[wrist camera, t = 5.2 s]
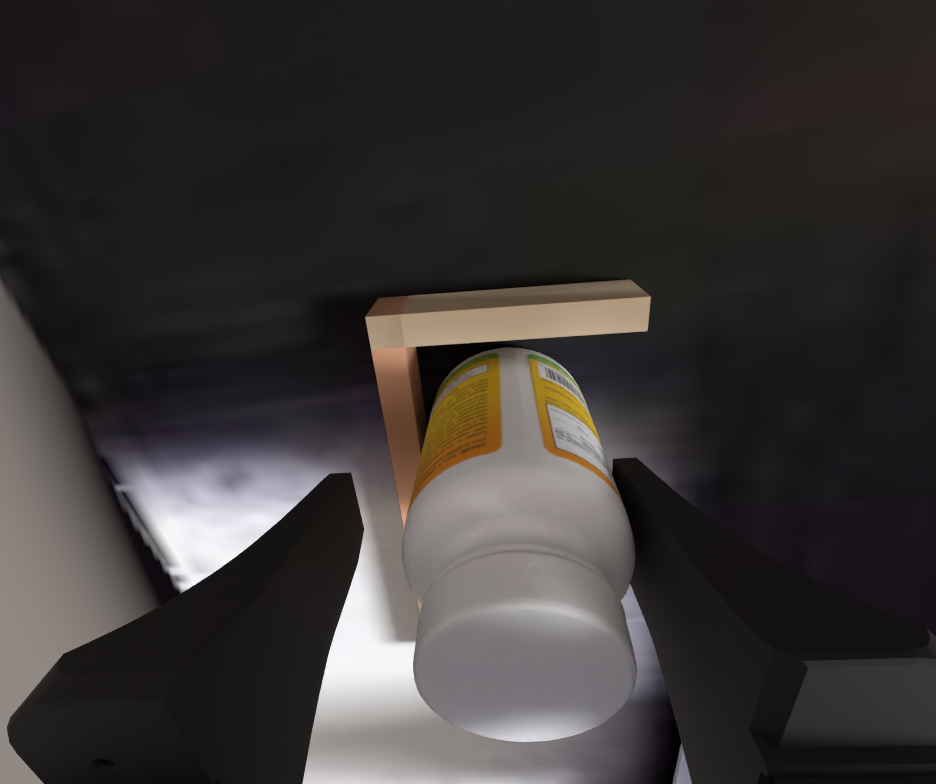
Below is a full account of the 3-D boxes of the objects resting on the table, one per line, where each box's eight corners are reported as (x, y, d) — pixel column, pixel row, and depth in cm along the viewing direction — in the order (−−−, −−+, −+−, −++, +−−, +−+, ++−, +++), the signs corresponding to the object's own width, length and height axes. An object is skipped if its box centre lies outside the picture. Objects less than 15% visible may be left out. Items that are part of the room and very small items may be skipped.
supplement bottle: (433, 470, 18) (379, 755, 10) (433, 339, 16) (361, 563, 7) (573, 478, 18) (646, 774, 10) (595, 347, 16) (720, 584, 7)
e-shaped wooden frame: (603, 637, 22) (614, 679, 21) (436, 643, 23) (432, 684, 21) (629, 279, 15) (650, 296, 13) (378, 297, 15) (365, 316, 14)
